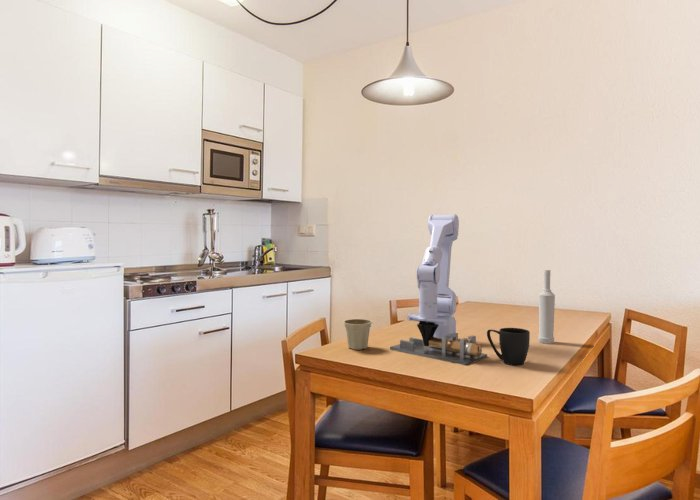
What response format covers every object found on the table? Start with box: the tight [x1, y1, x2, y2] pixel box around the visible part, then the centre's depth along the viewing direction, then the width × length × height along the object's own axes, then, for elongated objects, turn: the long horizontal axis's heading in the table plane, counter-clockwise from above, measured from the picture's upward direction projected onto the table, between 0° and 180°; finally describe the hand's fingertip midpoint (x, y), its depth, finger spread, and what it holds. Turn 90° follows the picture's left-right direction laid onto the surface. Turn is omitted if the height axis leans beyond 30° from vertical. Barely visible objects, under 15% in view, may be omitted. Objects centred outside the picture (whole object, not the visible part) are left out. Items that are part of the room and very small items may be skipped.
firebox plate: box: [389, 336, 488, 366], centre depth 145 cm, size 13×27×3 cm, turn 48°
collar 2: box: [459, 335, 477, 359], centre depth 138 cm, size 7×1×6 cm, turn 138°
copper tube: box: [429, 337, 483, 357], centre depth 141 cm, size 16×4×4 cm, turn 48°
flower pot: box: [342, 318, 373, 351], centre depth 152 cm, size 9×9×9 cm
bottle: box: [537, 269, 556, 345], centre depth 161 cm, size 5×5×25 cm
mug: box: [486, 327, 531, 367], centre depth 135 cm, size 8×12×10 cm
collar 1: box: [442, 332, 459, 355], centre depth 142 cm, size 7×1×6 cm, turn 138°
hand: (427, 345), depth 148 cm, fingers closed
